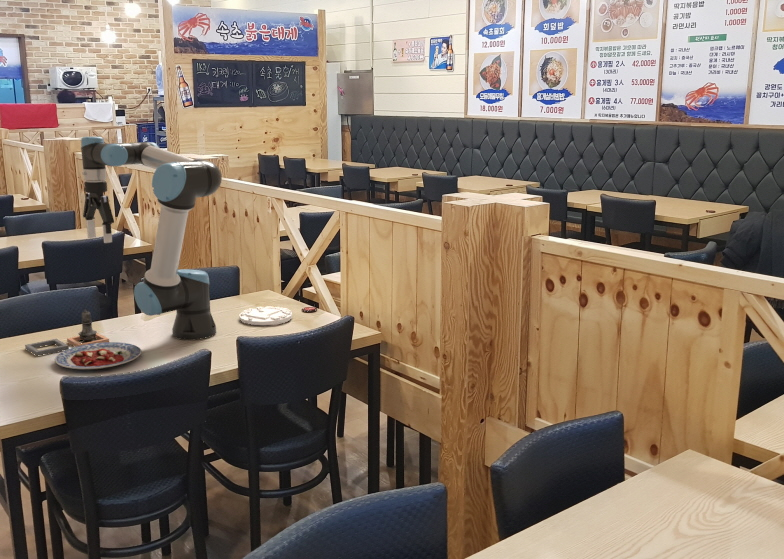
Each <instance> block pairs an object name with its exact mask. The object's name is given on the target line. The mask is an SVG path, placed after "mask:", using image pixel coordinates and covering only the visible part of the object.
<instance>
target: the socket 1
mask: <svg viewBox="0 0 784 559" xmlns="http://www.w3.org/2000/svg"><path fill="white" fill-rule="evenodd" d="M51 344H54V345H55V344H56V345H57V346H56V345H55V346H54V347H48V348H45V349H38V348H35V347H39V348H41V347H40V346H44V347H46V346H45V345H49V346H52V345H51ZM24 347H25V350H26V349H27V350H26V351H28V350H29V351H30V352H29V351H28V352H29V353H31V352H32V353H33V354H32V353H31V354H32V355H34V354H35V355H36V356H35V355H34V356H35V357H39V356H38V355H42V356H44V355H43V354H47V355H49V354H48V353H51V354H54V353H53V352H56V353H59V352H58V351H61V352H63V351H62V350H68V349H70V348H69V345H68V344H66V343H65V342H63V341H61V340H59V339H57V338H53V339H48V340H44V341H39V342H33V343H27V344H24Z"/></svg>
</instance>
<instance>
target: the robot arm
mask: <svg viewBox="0 0 784 559" xmlns="http://www.w3.org/2000/svg"><path fill="white" fill-rule="evenodd" d="M80 145H81V146H80V151H81V160H82V175H83V180H84V181H85V182H84V183H83V184H84V192H85V194H84V198H85V200H84V207H83V213H82V217H83V218H85V220H86V231H87V233H86V234H87V238H88V239H94V238H97V235H96V222H95V221H96V220H95V219H96V217H95V214H96V211H97V210H98V213H99V215H100V217H101V221H102V224H101V225H102V234H103V236H102V237H103V243H104V244H111V243H113V234H112V233H113V231H112V224H115V219H114V215H113V213H112V212H113V211H112V209H111V204H110V201H109V200H110V199H109V196H108V195H104V193H107V191H108V181H106V180H107V179H108V178H107V167H106V166H110V167H121V166H128V165H142V166H145V167H148V168H151V169H153V170H154V172H153V175H152V180H151V186H152V188H153V189H152V191H153V194H154V196H155V198H157V199H156V200H157V202H158V203H159V205H160V210H159V217H158V224H157V229H156V235H155V240H154V241H155V242H154V248H153V251H152V252H153V253H152V258H151V264H150V269H148V270H146V272H144V276H143V281H141V282H138V283H137V284H136V285H135V286H134V290H133V292H134V293H133V294H134V295H133V296H134V300H135V302H136V305H137V307H138V309H139V310H140V312H142V313H143V314H145V315H146V316H150V317H152V316H160V315H162V314H166V313H170V312H174V311H176V315H175V319H174V322H173V325H172V331H171V332H172V337H174V338H176V339H179V340H185V339H186V340H188V341H189V340H190V341H191V340H193V339H195V340H201V339H200V338H203V339H206V338H205V337H208V338H210V337H209V336H211V337H213V336H215V335H216V334H217V325H216V323H215V320H214V317H213V315H212V312H211V300H210V299H211V298H210V296H211V295H210V278H209V274H208V272H206V271H204V270H201V269H200V270H198V269H188V268H185V269H184V268H183V269H179V264H180V259H181V254H182V248H183V243H184V238H185V232H186V228H187V222H188V217H189V212H190V211H191V210H193V209H194V208H195V206H196V200H197V198H205V197H208V196H211V195H214V194H215V193H216V192H217V191H218V190H219V188H220V187H221V184H222V179H223V177H222V172H221V170H220V168H219V167H218V166H217V165H216V163H214V162H213V161H209V160H206V159H204V158H199V157H197V158H195V159H194V158H190V157H187V156H185V155H182V154H178V153H175V152H172V151H169V150H167V149H163V148H160V147H159V145H157V143H155V142H152V141H151V142H150V141H142V142H116V143H114V142H113V143H106V142H105V141H104V138H103V137H102V136H83V137H82V138H81V139H80ZM215 333H216V334H215ZM214 334H215V335H214ZM212 335H213V336H212ZM186 340H185V341H186Z"/></svg>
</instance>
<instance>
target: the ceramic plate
mask: <svg viewBox="0 0 784 559" xmlns="http://www.w3.org/2000/svg"><path fill="white" fill-rule="evenodd" d="M141 354H142V349H141V347H139V346H137V345H135V344H132V343H126V342H118V341H117V342H115V341H109V342H104V343H93V344H87V345H82V346H77V347H74V346H72V347H70V348H69V349H68V350H65V351H61V352H59V353H58V354H57V355H56V356H55V358H54V362H55V363H56V364H57V365H58V366H60V367H64V368H67V369H74V370H99V369H107V368H113V367H115V366H120V365H123V364H127V363H129V362H131V361H134V360H135V359H137V358H139V356H141Z"/></svg>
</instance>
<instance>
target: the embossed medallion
mask: <svg viewBox="0 0 784 559" xmlns="http://www.w3.org/2000/svg"><path fill="white" fill-rule="evenodd" d="M238 318H239V319H240V320H241V321H242V322H241V321H240V320H239V321H240V322H241V323H243V322H244V323H243V324H245V323H248V324H247V325H249V324H251V325H250V326H278V325H279V324H281V325H282V323H283V324H286V323H285V322H287V323H288V321H290V319H291V320H292V318H293V312H292V310H290V309H289V308H287V307H282V306H275V307H274V306H272V305H267V306H265V307H264V306H256V307H255V308H248V309H244V310H243V311H242V312H240V313H239V315H238Z"/></svg>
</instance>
